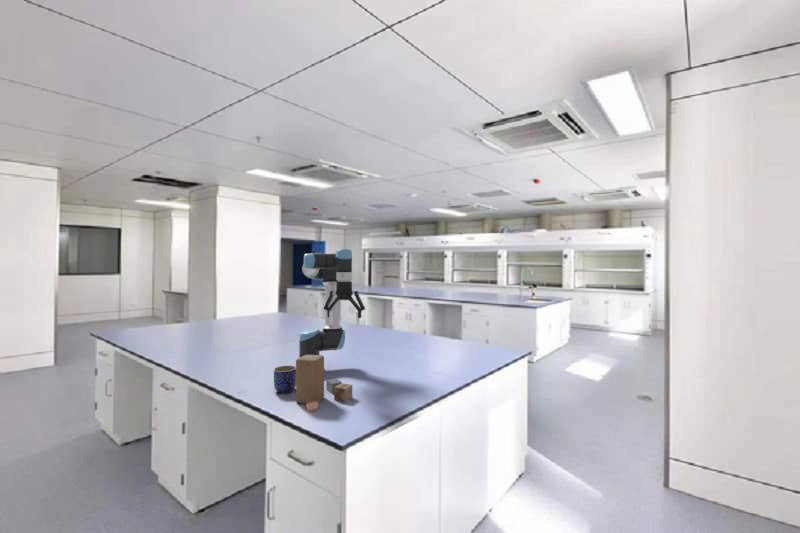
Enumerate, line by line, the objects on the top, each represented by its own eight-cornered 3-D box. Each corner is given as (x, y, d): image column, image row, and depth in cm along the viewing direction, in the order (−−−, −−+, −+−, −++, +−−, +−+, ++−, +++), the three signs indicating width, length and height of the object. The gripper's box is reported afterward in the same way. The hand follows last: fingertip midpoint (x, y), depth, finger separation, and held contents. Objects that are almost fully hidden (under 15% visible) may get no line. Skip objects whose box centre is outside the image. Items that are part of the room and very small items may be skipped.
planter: (295, 394, 179) (295, 371, 179) (271, 395, 177) (271, 372, 177) (297, 386, 190) (297, 364, 190) (275, 387, 188) (275, 365, 188)
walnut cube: (334, 400, 171) (334, 387, 171) (341, 395, 177) (341, 383, 177) (345, 402, 169) (345, 389, 169) (352, 397, 174) (352, 385, 174)
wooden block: (316, 405, 165) (315, 360, 165) (295, 403, 167) (294, 359, 167) (324, 397, 175) (324, 354, 174) (305, 395, 177) (305, 353, 176)
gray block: (326, 390, 185) (326, 380, 185) (335, 388, 188) (335, 378, 188) (332, 394, 179) (332, 383, 179) (341, 392, 182) (341, 382, 182)
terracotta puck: (304, 409, 160) (304, 402, 160) (314, 406, 164) (314, 399, 164) (310, 413, 157) (310, 406, 157) (320, 409, 160) (320, 402, 160)
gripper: (316, 281, 179) (317, 325, 180) (367, 281, 175) (367, 326, 175) (322, 280, 187) (322, 322, 187) (371, 280, 182) (371, 323, 183)
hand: (344, 324), depth 181 cm, fingers open, 13 cm apart
